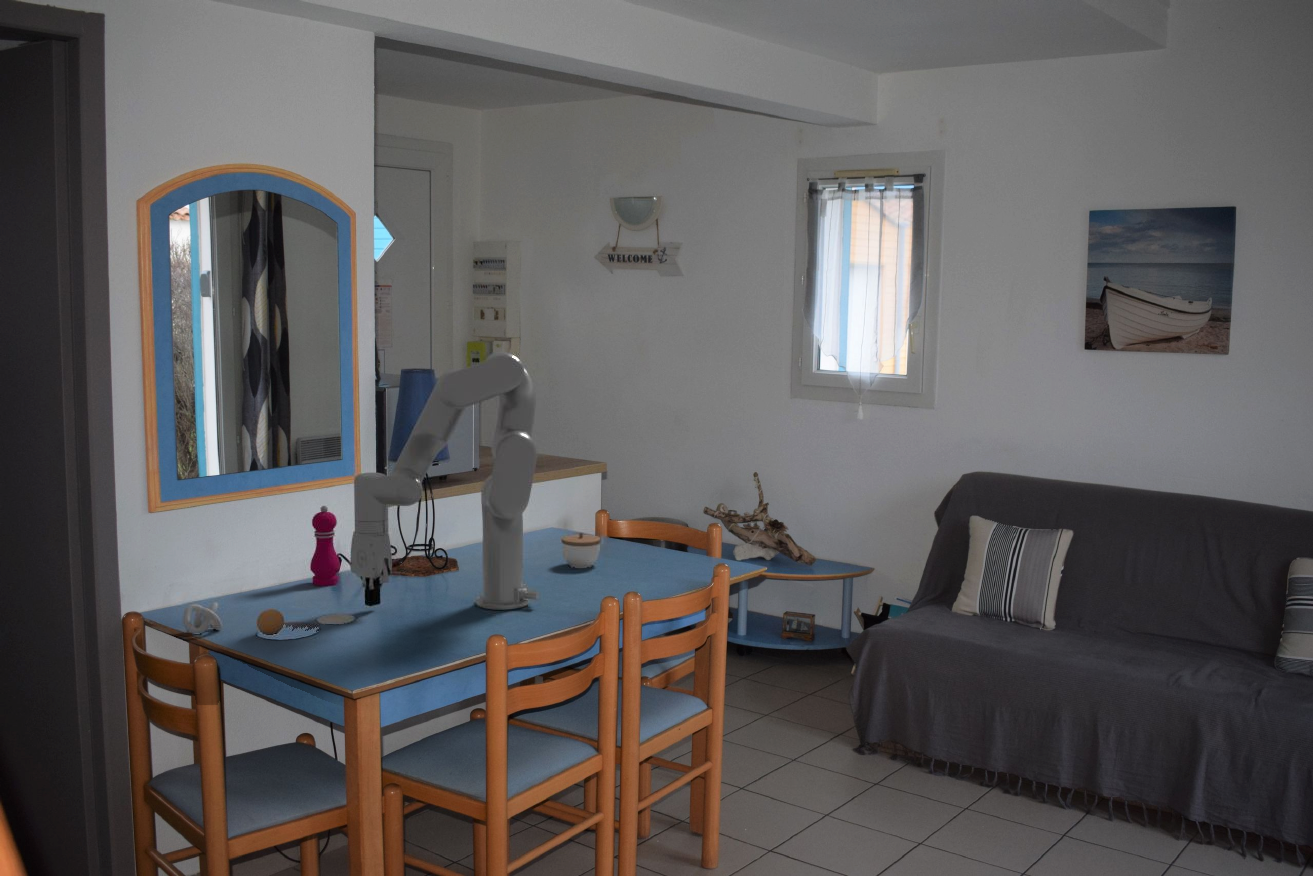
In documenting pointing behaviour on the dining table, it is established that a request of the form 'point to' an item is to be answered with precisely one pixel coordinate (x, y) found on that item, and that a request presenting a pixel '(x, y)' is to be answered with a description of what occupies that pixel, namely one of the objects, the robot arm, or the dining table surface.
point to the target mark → (301, 625)
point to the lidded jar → (581, 550)
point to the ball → (270, 622)
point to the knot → (206, 621)
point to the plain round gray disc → (335, 619)
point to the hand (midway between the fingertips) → (372, 604)
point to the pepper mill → (324, 549)
